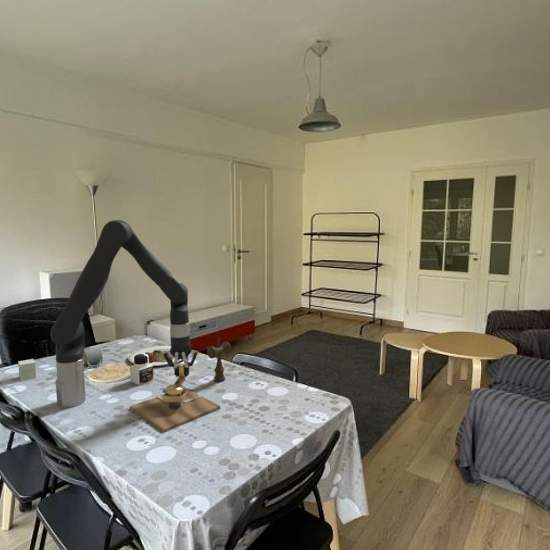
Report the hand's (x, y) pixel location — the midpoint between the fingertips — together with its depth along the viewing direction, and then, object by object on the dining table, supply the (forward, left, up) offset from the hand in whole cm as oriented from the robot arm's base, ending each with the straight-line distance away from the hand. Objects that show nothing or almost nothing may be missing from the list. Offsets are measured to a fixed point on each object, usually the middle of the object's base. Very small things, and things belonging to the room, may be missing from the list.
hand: (182, 375), depth 157 cm
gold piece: (-4, -4, -5) cm, 8 cm away
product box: (-37, +67, -9) cm, 77 cm away
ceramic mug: (-10, +63, -9) cm, 64 cm away
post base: (-7, -6, -9) cm, 13 cm away
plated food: (+18, +49, -9) cm, 52 cm away
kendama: (+22, +4, -9) cm, 24 cm away
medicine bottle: (-3, +27, -9) cm, 28 cm away
